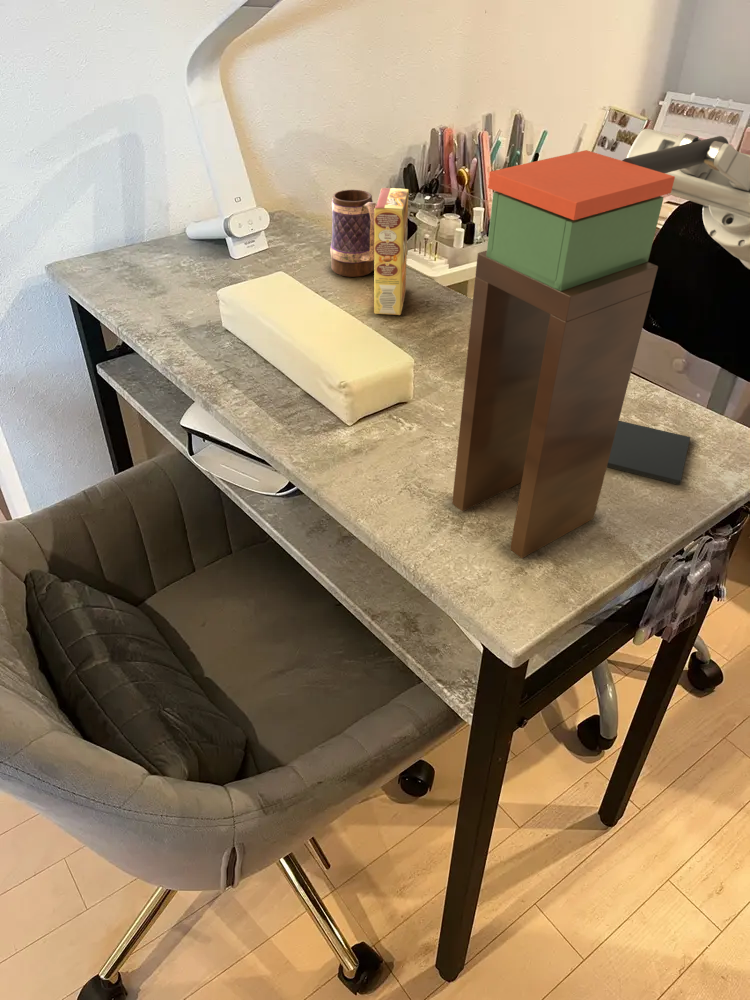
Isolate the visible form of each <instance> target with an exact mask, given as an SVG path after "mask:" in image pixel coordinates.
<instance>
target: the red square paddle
mask: <svg viewBox="0 0 750 1000" xmlns="http://www.w3.org/2000/svg"><path fill="white" fill-rule="evenodd" d="M700 140H701V141H696V142H692V143H688V144H684V145H680V146H675V147H671V148H667V149H663V150H659V151H654V152H650V153H646V154H642V155H638V156H633V157H629V158H627V157H626V158H623V159H622V160H621V159H618V158H614V157H611V156H608V155H605V154H601V153H597V152H595V151H590V150H588V149H585V150H581V151H575V152H572V153H567V154H562V155H557V156H554V157H549V158H544V159H540V160H536V161H531V162H527V163H522V164H518V165H512V166H508V167H503V168H500V169H499V168H498V169H495V170H492V171H489V172H488V182H487V189H489V190H492V191H494V192H500V193H503V194H505V195H508V196H511V197H513V198H516V199H519V200H521V201H524V202H526V203H529V204H532V205H534V206H537V207H540V208H542V209H545V210H548V211H550V212H553V213H556V214H558V215H561V216H564V217H566V218H569V219H572V220H577V219H580V218H584V217H587V216H591V215H595V214H598V213H602V212H605V211H609V210H612V209H616V208H619V207H623V206H626V205H630V204H634V203H637V202H641V201H644V200H648V199H651V198H655V197H658V196H662V197H663V196H665V195H670V194H669V193H671V191H672V187H673V183H674V179H675V176H672V175H668V174H665V173H668V172H672V171H676V170H680V169H683V168H687V167H691V166H695V165H699V164H703V163H704V157H705V155H706V153H707V152H708V151H709V150H710V145H711V144H712V143H713V142H714V141H717V142H722V143H726V144H730V143H729V141H728V139H727V138H726V137H725V136H722V135H717V136H714V137H709V138H705V139H700Z"/></svg>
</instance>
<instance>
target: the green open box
mask: <svg viewBox="0 0 750 1000" xmlns="http://www.w3.org/2000/svg"><path fill="white" fill-rule="evenodd" d="M491 200H492V201H491V209H490V210H491V211H490V218H489V227H488V236H487V246H486V251H487V254H486V257H488V258H490V259H492V260H495V261H497V262H499V263H501V264H503V265H505V266H507V267H510V268H512V269H514V270H516V271H518V272H520V273H522V274H524V275H527V276H529V277H531V278H533V279H535V280H537V281H539V282H542V283H544V284H546V285H548V286H550V287H552V288H554V289H556V290H559V291H563V290H566V289H569V288H572V287H575V286H578V285H581V284H584V283H586V282H589V281H592V280H595V279H598V278H601V277H604V276H607V275H610V274H613V273H616V272H619V271H622V270H625V269H628V268H631V267H633V266H636V265H639V264H642V263H645V262H649V259H650V255H651V251H652V246H653V243H654V239H655V235H656V231H657V226H658V222H659V218H660V214H661V210H662V206H663V203H664V196H663V195H662V196H658V197H655V198H651V199H648V200H644V201H641V202H637V203H634V204H630V205H626V206H623V207H619V208H616V209H612V210H609V211H605V212H602V213H598V214H595V215H591V216H587V217H584V218H580V219H577V220H572V219H569V218H566V217H564V216H561V215H558V214H556V213H553V212H550V211H548V210H545V209H542V208H540V207H537V206H534V205H532V204H529V203H526V202H524V201H521V200H519V199H516V198H513V197H511V196H508V195H505V194H503V193H500V192H497V191H493V193H492V199H491Z"/></svg>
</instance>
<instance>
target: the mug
mask: <svg viewBox="0 0 750 1000" xmlns="http://www.w3.org/2000/svg"><path fill="white" fill-rule="evenodd" d="M376 204H377V202H374V201H373V195H372V194H371V193H370V192H369V191H365V190H362V189H343V190H338V191H336V192H335V193H333V194H332V200H331V210H332V211H331V214H332V215H331V219H332V220H331V242H330V257H331V265H330V266H331V270H332V271H333V272H334V273H335V274H337V275H339V276H342V277H347V278H348V277H349V278H359V277H364V276H367V275H369V274H371V273H372V272H373V271H374V209H375V206H376Z"/></svg>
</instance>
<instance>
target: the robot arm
mask: <svg viewBox="0 0 750 1000" xmlns="http://www.w3.org/2000/svg"><path fill="white" fill-rule="evenodd" d="M701 140H702V139H700V138H699V136H697V135H695V134H690V133H686V132H680V133H679V134H678V135H674V134H670V133H666V132H662V131H659V130H655V129H651V128H643V129H642V130H641V131H640V132H639V133H638V134H637V136H636V137H635V139H634V141H633V143H632V145H631V146H630V149H629V151H628V153H627V155H626V158H629V157H633V156H638V155H642V154H646V153H650V152H654V151H659V150H663V149H667V148H671V147H675V146H680V145H684V144H688V143H692V142H696V141H701ZM665 174H668V175H672V176H675V179H674V183H673V187H672V191H671V193H669V194H668V195H670V196H674V197H675V198H680V199H682V200H686V201H689V202H692V203H695V204H699V205H702V213H701V214H702V221H703V225H704V226H703V227H704V229H705V231H706V232H707V234H708V235H709V236H710V237H711V238H712V239H713V240H714V241H715V242H716V243H717V244H719V246H721V247H722V248H723V249H725V250H726V251H727V252H728V253H729V254H730V255H732V256H733V257H735V258H737V259H738V260H739V261H740V262H741V263H742V265H743V266H744V267H745V268H747V269H748V270H750V154H747V153H744V152H739V151H738V150H737V149H736V148H735V147H734V146H733V145H732V144H731V143H729V144H726V143H722V142H717V141H714V142H713V143H712V144H711V145H710V150H709V151H708V152H707V153H706V155H705V157H704V163H703V164H699V165H695V166H691V167H687V168H683V169H680V170H676V171H672V172H668V173H665Z"/></svg>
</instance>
